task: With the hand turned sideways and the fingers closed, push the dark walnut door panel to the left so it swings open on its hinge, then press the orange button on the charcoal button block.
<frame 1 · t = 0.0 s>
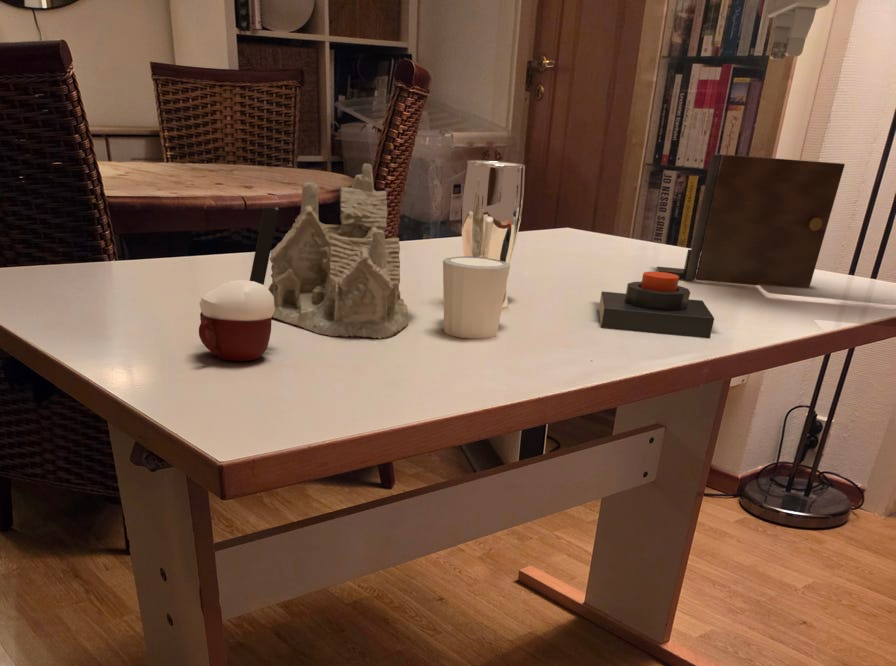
hand: (784, 57, 109), 27 cm above the table, tool pointing down, fingers open, 8 cm apart
buzzer: (651, 323, 100), on the table
white cup: (470, 334, 91), on the table
ceramic cottage: (332, 320, 93), on the table
cocoa: (243, 358, 78), on the table
gray angle bracket: (689, 281, 126), on the table
beer glass: (482, 306, 104), on the table
door: (761, 224, 121), point 8 cm above the table, hinge at 0.0°
button: (659, 282, 98), point 4 cm above the table, slide at 0.1 cm
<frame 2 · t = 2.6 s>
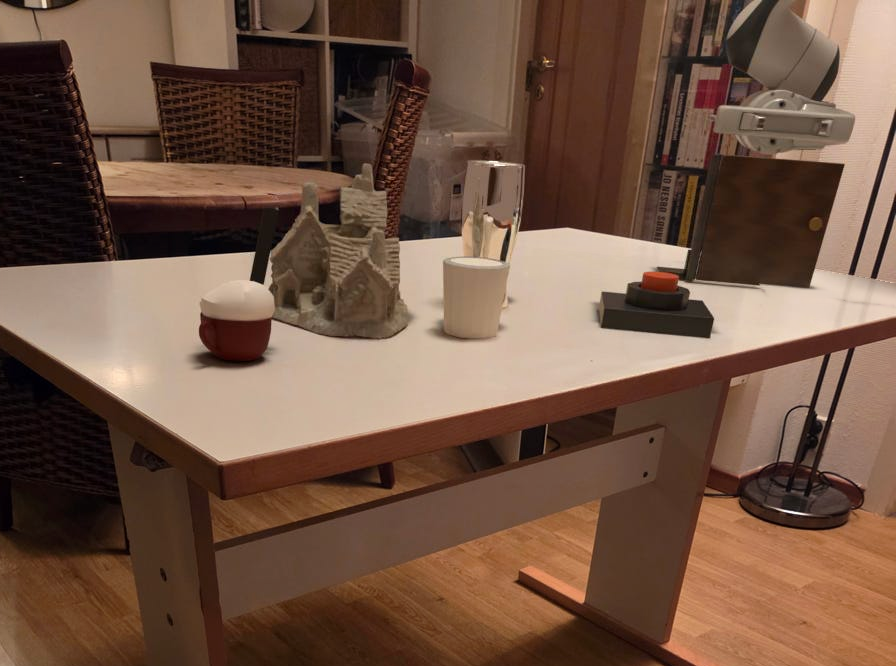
hand: (792, 125, 126), 20 cm above the table, tool horizontal, fingers open, 8 cm apart
nothing on the table moved.
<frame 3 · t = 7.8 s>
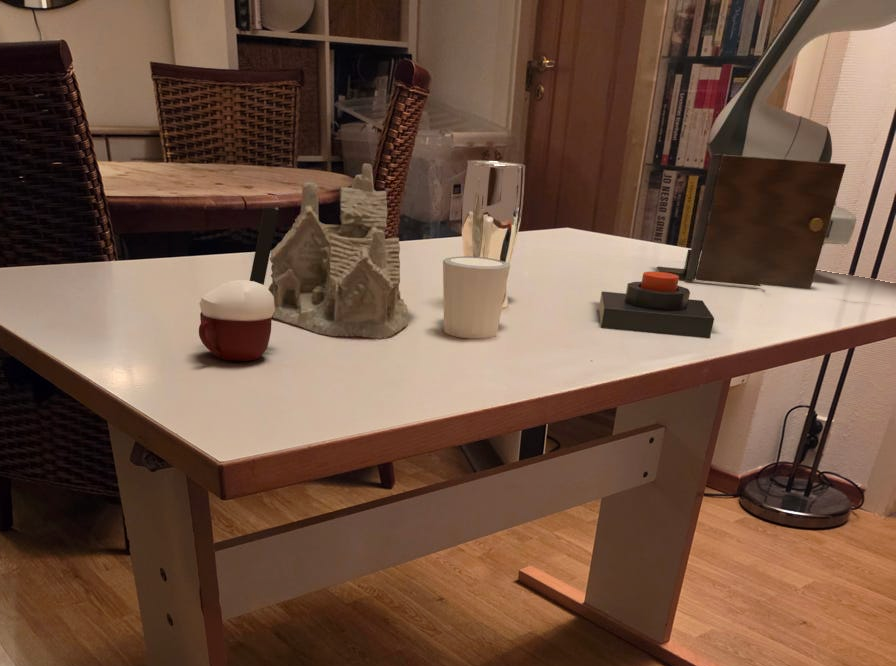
hand: (789, 229, 121), 8 cm above the table, tool horizontal, fingers closed, pressing on door
door: (762, 224, 120), point 8 cm above the table, hinge at 2.5°, touching gripper
everything else where it was.
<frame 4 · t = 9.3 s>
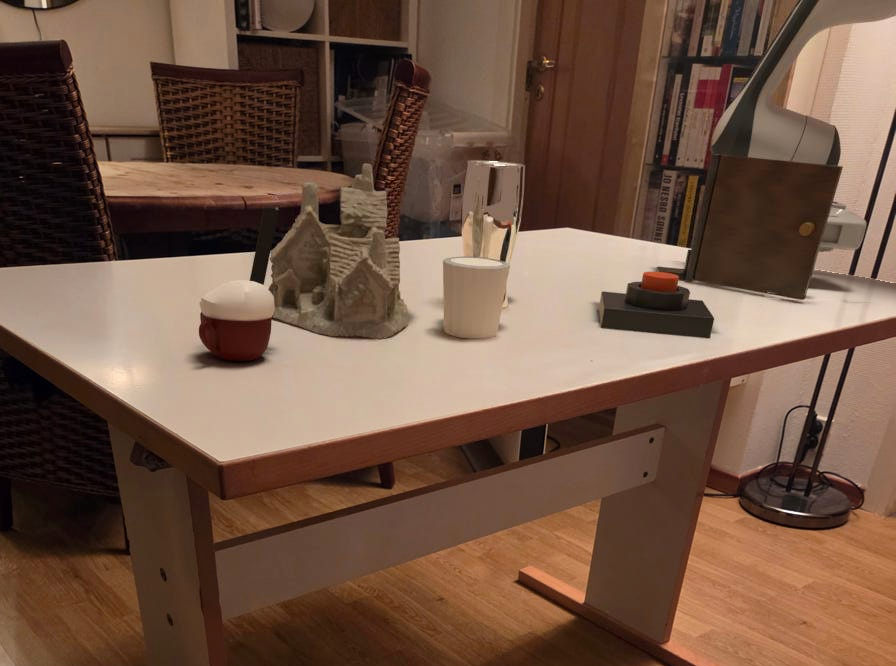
hand: (797, 235, 116), 8 cm above the table, tool horizontal, fingers closed
door: (756, 226, 117), point 8 cm above the table, hinge at 32.1°, touching gripper
everything else where it was.
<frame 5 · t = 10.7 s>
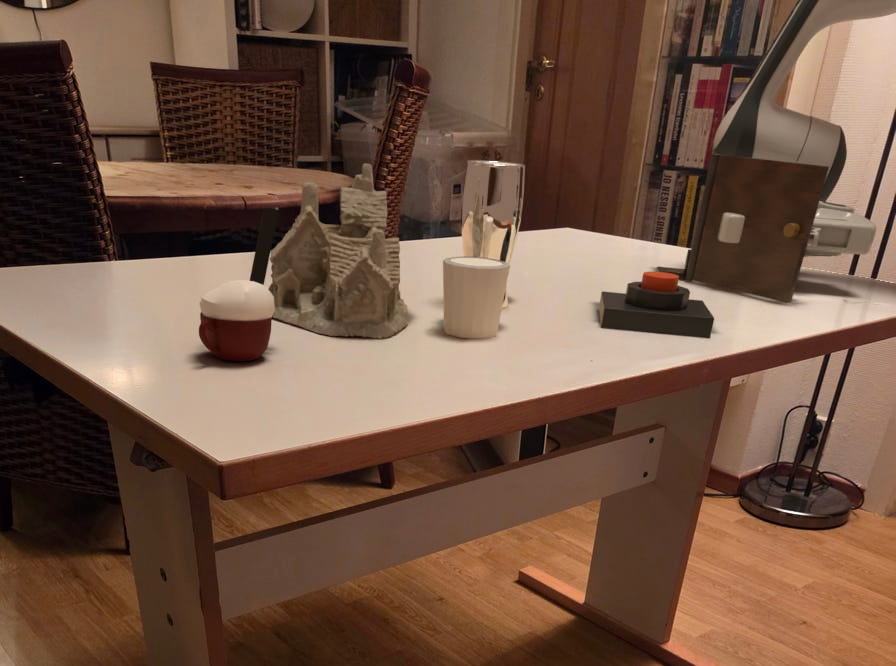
hand: (805, 239, 112), 8 cm above the table, tool horizontal, fingers closed
door: (748, 227, 116), point 8 cm above the table, hinge at 46.2°, touching gripper
everything else where it was.
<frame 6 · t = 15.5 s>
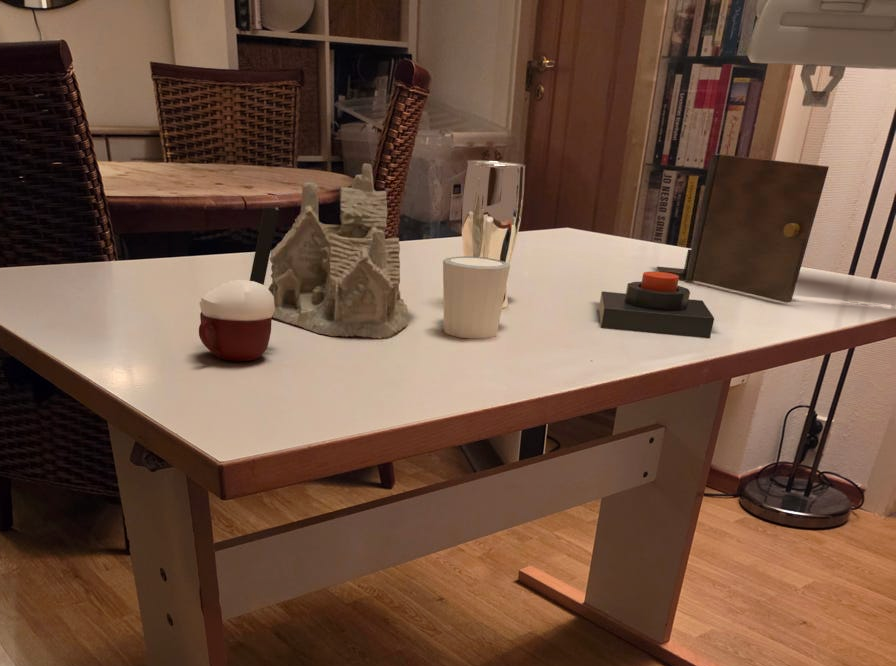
hand: (813, 106, 117), 23 cm above the table, tool pointing down, fingers closed
door: (748, 227, 116), point 8 cm above the table, hinge at 46.2°
everything else where it was.
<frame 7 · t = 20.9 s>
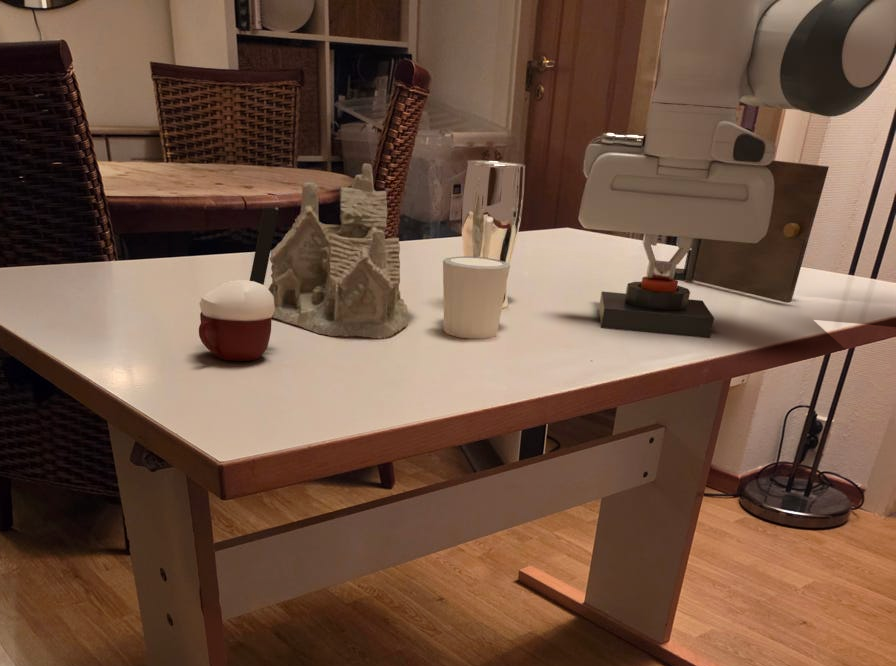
hand: (659, 279, 98), 5 cm above the table, tool pointing down, fingers closed, pressing on button
button: (658, 287, 98), point 4 cm above the table, slide at -0.4 cm, touching gripper
everything else where it was.
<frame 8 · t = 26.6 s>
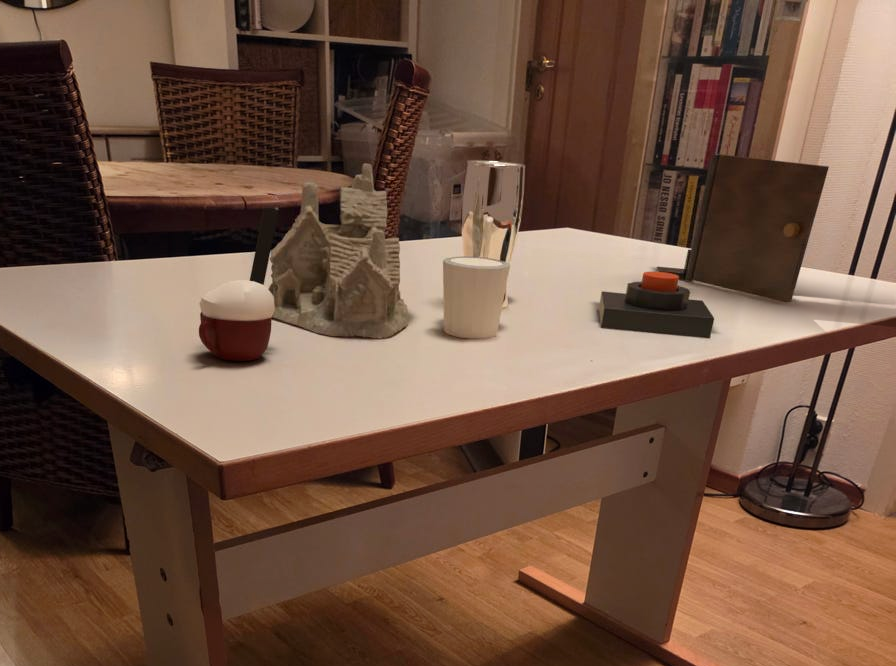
hand: (787, 20, 104), 31 cm above the table, tool pointing down, fingers closed
button: (659, 282, 98), point 4 cm above the table, slide at 0.1 cm
everything else where it was.
at the end: door at +46° (first picture: +0°); button pushed in 1.0 cm at the most during the clip, back to where it started at the end; button slide at 0.1 cm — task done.
